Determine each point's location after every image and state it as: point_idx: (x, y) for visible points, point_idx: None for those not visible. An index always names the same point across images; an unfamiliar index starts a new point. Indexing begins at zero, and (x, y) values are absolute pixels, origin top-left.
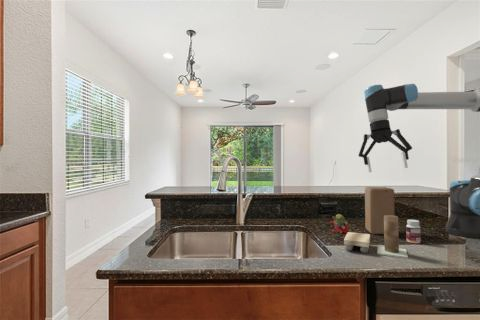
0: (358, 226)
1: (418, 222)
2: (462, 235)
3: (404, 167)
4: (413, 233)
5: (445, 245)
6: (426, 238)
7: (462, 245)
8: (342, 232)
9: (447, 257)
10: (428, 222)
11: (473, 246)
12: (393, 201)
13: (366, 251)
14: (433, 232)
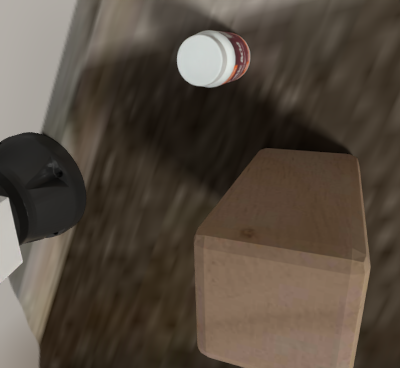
0: None
1: (185, 41)
2: (61, 149)
3: (12, 243)
4: (225, 32)
5: (141, 28)
6: (167, 114)
7: (95, 41)
8: None
9: None
10: (95, 313)
11: (71, 35)
12: (224, 199)
13: None
14: (121, 195)
